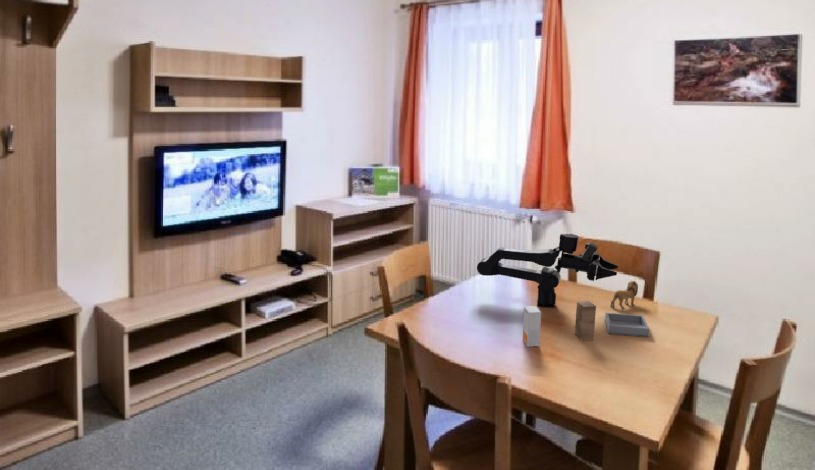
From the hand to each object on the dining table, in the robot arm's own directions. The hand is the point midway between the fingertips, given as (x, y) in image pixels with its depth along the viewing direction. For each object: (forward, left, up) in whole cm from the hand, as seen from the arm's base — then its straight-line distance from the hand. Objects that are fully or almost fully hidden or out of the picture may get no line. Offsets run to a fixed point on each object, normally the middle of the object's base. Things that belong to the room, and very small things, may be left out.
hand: (617, 270), depth 229 cm
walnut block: (-13, -27, -17) cm, 34 cm away
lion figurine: (+5, +9, -17) cm, 20 cm away
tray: (+2, -16, -17) cm, 23 cm away
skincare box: (-30, -36, -17) cm, 50 cm away
